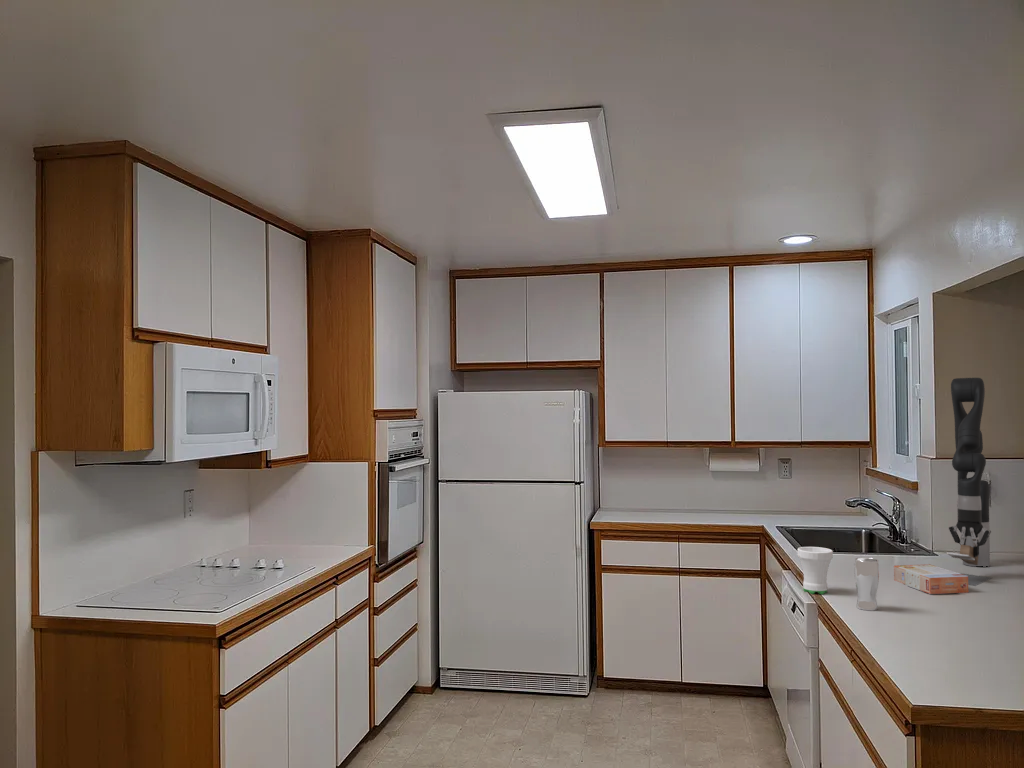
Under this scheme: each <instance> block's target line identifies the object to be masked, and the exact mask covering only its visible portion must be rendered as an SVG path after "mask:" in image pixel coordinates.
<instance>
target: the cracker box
mask: <svg viewBox="0 0 1024 768" xmlns="http://www.w3.org/2000/svg"><path fill="white" fill-rule="evenodd" d="M960 573H961V572H957V571H956V572H955V571H953V570H951V569H946V568H943V567H940V566H936V565H933V564H930V563H928V564H925V563H924V564H903V565H902V564H901V565H899V564H898V565H894V566H893V580H894V581H895V582H898V583H901V584H902V585H905V586H907V587H910V588H912V589H915V590H918V591H920V592H923V593H926V594H929V595H941V594H942V595H943V594H961V593H963V594H965V593H969V592H970V591H969V585H968V576H966V575H963V574H964V573H962V574H960Z"/></svg>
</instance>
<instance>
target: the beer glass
mask: <svg viewBox="0 0 1024 768" xmlns="http://www.w3.org/2000/svg"><path fill="white" fill-rule="evenodd" d="M879 566H880V565H879V560H878V559H877V558H872V557H856V558H854V581H855V587H856V591H857V602H856V608H857V609H858V610H861V611H867V612H872V611H873V612H875V611H878V608H879V607H878V601H877V595H878V594H877V593H878V589H879V582H880V567H879Z"/></svg>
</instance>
